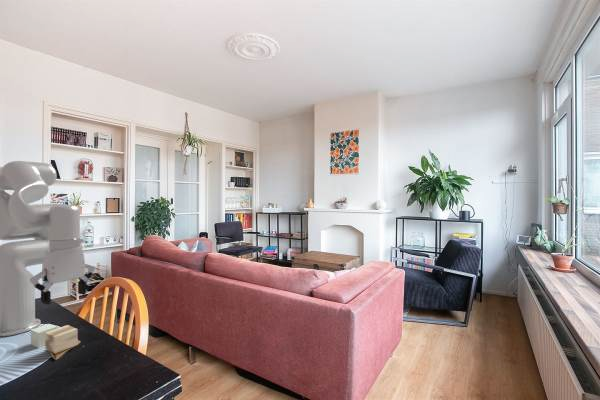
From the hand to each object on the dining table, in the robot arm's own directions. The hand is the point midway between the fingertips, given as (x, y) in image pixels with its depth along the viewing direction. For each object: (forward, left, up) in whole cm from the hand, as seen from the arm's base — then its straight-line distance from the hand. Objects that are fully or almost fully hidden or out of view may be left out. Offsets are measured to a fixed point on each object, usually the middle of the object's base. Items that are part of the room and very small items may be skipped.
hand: (65, 298), depth 93 cm
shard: (0, 0, -17) cm, 17 cm away
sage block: (-10, -1, -16) cm, 19 cm away
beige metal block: (0, -1, -15) cm, 15 cm away
